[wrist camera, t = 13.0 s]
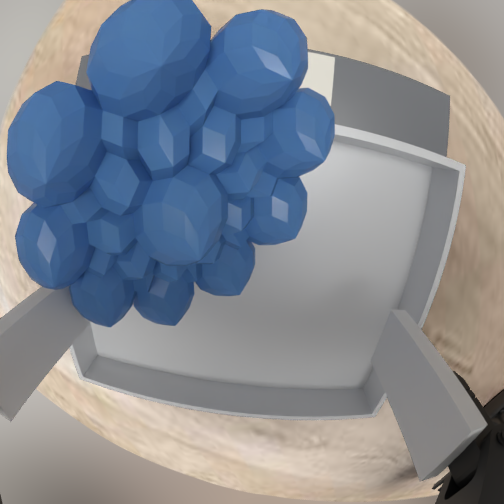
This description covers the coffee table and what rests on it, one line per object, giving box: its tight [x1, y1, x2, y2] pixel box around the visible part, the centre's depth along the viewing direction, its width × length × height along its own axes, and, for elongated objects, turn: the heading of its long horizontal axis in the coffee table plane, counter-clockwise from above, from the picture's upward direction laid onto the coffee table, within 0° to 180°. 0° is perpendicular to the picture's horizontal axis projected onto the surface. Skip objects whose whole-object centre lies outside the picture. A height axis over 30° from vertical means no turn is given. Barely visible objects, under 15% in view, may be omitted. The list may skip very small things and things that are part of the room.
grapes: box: [7, 0, 335, 328], centre depth 9 cm, size 12×7×12 cm
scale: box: [69, 40, 466, 420], centre depth 14 cm, size 22×21×6 cm
